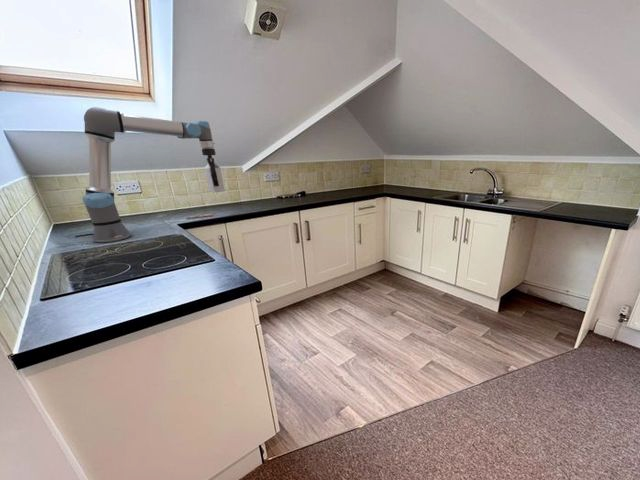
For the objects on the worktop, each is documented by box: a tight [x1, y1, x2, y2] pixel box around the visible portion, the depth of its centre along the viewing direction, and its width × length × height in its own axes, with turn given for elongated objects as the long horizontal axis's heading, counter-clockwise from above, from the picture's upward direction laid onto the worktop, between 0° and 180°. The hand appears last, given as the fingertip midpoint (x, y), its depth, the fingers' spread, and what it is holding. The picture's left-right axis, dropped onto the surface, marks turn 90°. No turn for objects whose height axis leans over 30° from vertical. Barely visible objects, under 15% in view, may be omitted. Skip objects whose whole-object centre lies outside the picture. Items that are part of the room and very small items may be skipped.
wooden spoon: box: [186, 213, 213, 220], centre depth 203 cm, size 15×5×1 cm, turn 119°
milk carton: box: [203, 162, 226, 193], centre depth 195 cm, size 7×7×19 cm
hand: (216, 185), depth 198 cm, fingers closed on milk carton, 9 cm apart
